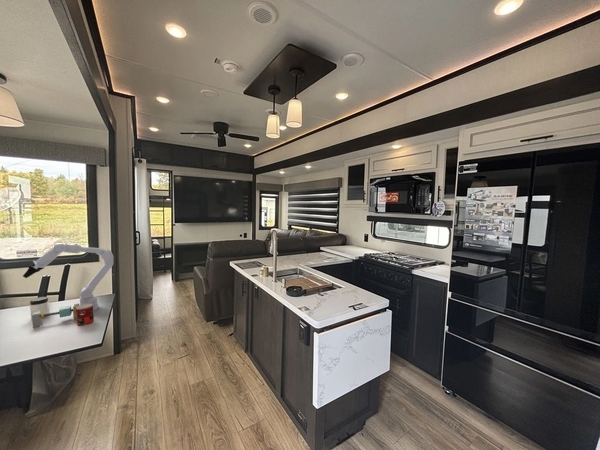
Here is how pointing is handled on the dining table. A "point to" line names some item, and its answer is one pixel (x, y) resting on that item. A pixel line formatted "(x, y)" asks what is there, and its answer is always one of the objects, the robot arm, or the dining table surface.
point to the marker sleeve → (65, 311)
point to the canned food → (84, 314)
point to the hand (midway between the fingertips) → (26, 276)
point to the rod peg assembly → (38, 316)
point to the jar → (39, 305)
